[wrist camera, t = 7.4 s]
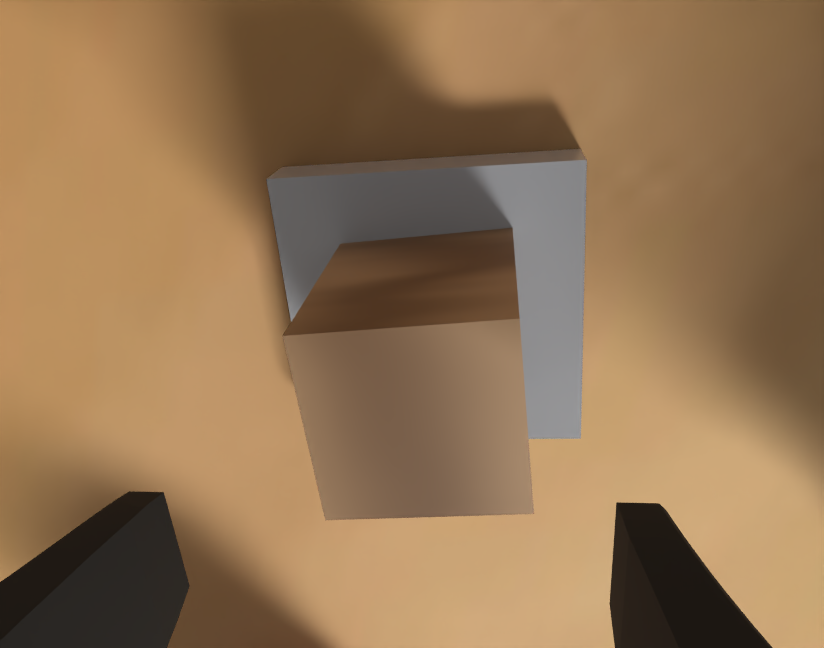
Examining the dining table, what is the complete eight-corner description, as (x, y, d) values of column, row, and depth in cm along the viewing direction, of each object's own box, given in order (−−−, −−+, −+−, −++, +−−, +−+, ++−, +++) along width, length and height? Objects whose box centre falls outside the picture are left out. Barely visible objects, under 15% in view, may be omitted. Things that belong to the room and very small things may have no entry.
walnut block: (512, 227, 17) (519, 318, 12) (524, 381, 19) (533, 514, 14) (340, 243, 18) (282, 335, 13) (367, 390, 20) (325, 519, 15)
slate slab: (578, 143, 18) (586, 159, 17) (573, 401, 22) (580, 438, 20) (287, 162, 19) (266, 179, 18) (326, 405, 23) (311, 440, 21)
